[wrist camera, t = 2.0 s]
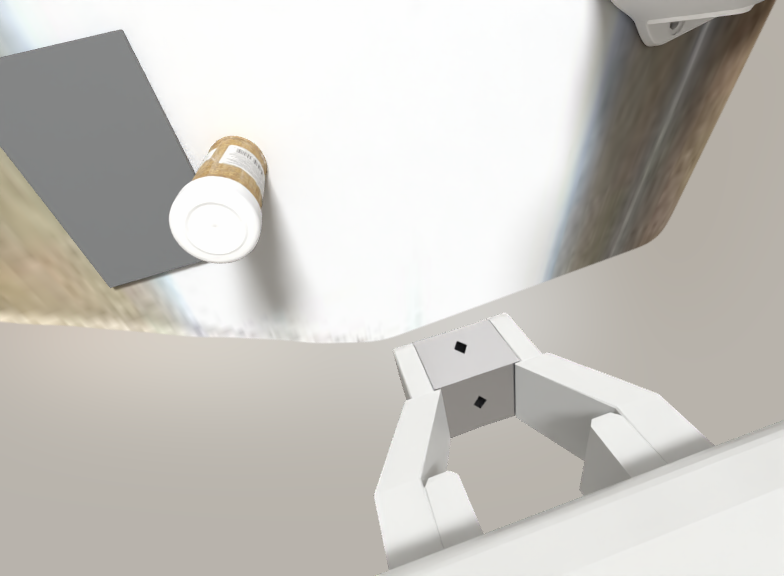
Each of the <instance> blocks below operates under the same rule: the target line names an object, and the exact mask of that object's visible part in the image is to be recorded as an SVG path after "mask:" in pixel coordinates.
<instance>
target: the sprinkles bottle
mask: <svg viewBox="0 0 784 576" xmlns="http://www.w3.org/2000/svg"><path fill="white" fill-rule="evenodd" d="M266 172H267V165H266V160H265V157H264V155H263V154H262V152H261V150H260V149H259V148H258V147H257V146H256V145H255V144H254V143H252V142H251V141H249V140H248V139H245V138H242V137H238V136H227V137H224V138H221V139H220V140H218V141H216V143H215V144H214V145H213V146H212V147H211V148H210V150H209V153H208V155H207V156H206V157H205V159H204V160H203V162H202V163H201V165H200V166H199V168H198V171H197V173H196V175H195V176H194V178H193V179H192V181H191V182H189V183H188V184H187V185H185V186H184V187H183V188H182V190H181V191H180V192H179V194H178V195H177V197H176V198H175V200H174V202H173V204H172V206H171V209H170V213H169V225H170V229H171V232H172V234H173V237H174V238H175V240H176V241H177V243H178V244H179V245H180V246H181V247H182V248H183V249H184V250H185V251H186V252H188V253H189V254H190V255H192V256H194V257H196V258H198V259H200V260H203V261H206V262H210V263H230V262H234V261H237V260H240V259H242V258H244V257H245V256H247V255H248V254H249V253H250V252H251V251H252V250H253V249H254V248H255V246H256V245H257V243H258V240H259V237H260V233H261V227H262V213H261V207H262V202H263V194H264V185H265V175H266Z"/></svg>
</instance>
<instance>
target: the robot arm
mask: <svg viewBox="0 0 784 576" xmlns="http://www.w3.org/2000/svg"><path fill="white" fill-rule="evenodd" d="M611 1H612V2H613V4H614V5H615V6H616V7H618V8H619V9H620V10H621V11H623V12H624V13H626V14H627V15H628V16H629V17H631V18H632V19H633V21H634V22H635V25H636V27H637V30H638V32H639V35H640V37H641V39H642V41H643V42H644V44H645V45H647V46H650V47H651V46H657V45H662V44H665V43H667V42H669V41H670V40H672V39H674V38H676V37H678V36H680V35H682V34H684V33H686V32H688V31H690V30H692V29H694V28H696V27H698V26H700V25H702V24H704V23H706V22H708V21H710V20H712V19H714V18H716V17H718V16H727V15H735V14H741V13H745V12H748V11H750V10H751V9H752V7H753V6H754V5H755V4H757V3H759V2H762V1H764V0H611ZM671 22H672V24H671V26H670V23H671ZM393 354H394V357H395V361H396V365H397V369H398V372H399V376H400V380H401V383H402V386H403V390H404V393H405V396H406V401H405V402H404V405H403V408H402V411H401V414H400V418H399V420H398V424H397V427H396V430H395V433H394V436H393V439H392V442H391V445H390V448H389V451H388V454H387V457H386V460H385V463H384V466H383V470H382V472H381V475H380V479H379V482H378V485H377V488H376V491H375V494H374V498H375V503H376V508H377V513H378V518H379V523H380V527H381V533H382V537H383V543H384V547H385V553H386V558H387V563H388V568H389V570H388V571H386V572H383V573H380V574H378V575H375V576H784V420H782V421H780V422H777V423H774V424H772V425H769V426H767V427H764V428H761V429H759V430H756V431H753V432H751V433H748V434H746V435H743V436H740V437H738V438H735V439H732V440H730V441H727V442H725V443H722V444H719V445H717V446H715V445H714V444H712V443H711V442H710V441H709V440H708V439H707V438H706V437H705V436H704V435H703V434H702V433H700V432H699V431H698V430H697V429H696V428H695V427H694V426H693V425H692V424H691V423H689V422H688V421H687V420H686V419H685V418H684V417H683V416H682V415H681V414H680V413H679V412H678V411H676V410H675V409H674V408H673V407H672V406H671V405H670V404H669V403H668V402H667V401H666V400H664V399H663V398H662V397H661V396H660V395H659V394H658V393H655V392H652V391H650V390H647V389H644V388H642V387H639V386H636V385H634V384H631V383H629V382H626V381H623V380H620V379H618V378H615V377H613V376H610V375H607V374H605V373H602V372H599V371H597V370H594V369H592V368H589V367H586V366H583V365H581V364H578V363H576V362H573V361H570V360H568V359H565V358H562V357H560V356H557V355H554V354H552V353H549V352H548V353H544V354H542V353H541V351H540V350H539V349H538V348H537V347H536V346H535V344H533V342H532V341H531V340H530V339H529V338H528V336H527V335H526V334H525V333H524V332H523V331H522V329H521V328H520V327H519V326H518V325H517V324H516V323H515V322H514V320H513V319H512V318H511V317H510V316H509V315H508V314H507V313H501V314H498V315H495V316H493V317H490V318H487V319H486V320H481V321H478V322H475V323H472V324H469V325H466V326H463V327H460V328H457V329H454V330H451V331H449V332H446V333H442V334H439V335H436V336H432V337H429V338H426V339H422V340H419V341H416V342H413V343H411V344H407V345H404V346H400V347H397V348H393ZM515 415H516V418H518V419H519V420H521V421H522V422H524V423H526V424H527V425H529V426H530V427H532V428H533V429H535V430H537V431H538V432H540V433H541V434H543V435H544V436H546V437H548V438H549V439H551V440H552V441H554V442H555V443H557V444H558V445H560V446H562V447H563V448H565V449H566V450H568V451H570V452H571V453H572V454H574V455H576V456H577V457H579V458H580V459H582V460H584V466H583V472H582V478H581V483H580V491H581V493H582V494H583V497H580V498H577V499H575V500H572V501H570V502H567V503H564V504H562V505H559V506H556V507H554V508H551V509H549V510H546V511H543V512H541V513H538V514H535V515H533V516H530V517H527V518H525V519H522V520H520V521H517V522H514V523H512V524H509V525H506V526H504V527H501V528H498V529H496V530H493V531H491V532H488V533H485V534H483V532H482V529H481V527H480V525H479V522H478V520H477V518H476V515H475V513H474V510H473V508H472V506H471V503H470V501H469V499H468V496H467V494H466V492H465V489H464V487H463V485H462V482H461V480H460V477H459V475H458V474H456V473H453V472H451V471H446V469H447V463H448V457H449V449H450V443H451V439H450V438H453V437H455V436H458V435H461V434H463V433H466V432H468V431H471V430H473V429H476V428H479V427H481V426H484V425H487V424H491V423H494V422H497V421H500V420H503V419H506V418H509V417H512V416H515Z"/></svg>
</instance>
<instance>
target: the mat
mask: <svg viewBox="0 0 784 576" xmlns="http://www.w3.org/2000/svg"><path fill="white" fill-rule="evenodd" d="M0 147H1V148H2V149H3V150H4V152H5V153H6V154H7V156H8V157H9V158H10V159H11V161H12V162H13V163H14V165H15V166H16V167H17V168H18V170H19V171H20V172H21V174H22V175H23V176H24V178H25V179H26V180H27V181H28V183H29V184H30V185H31V187H32V188H33V189H34V190H35V192H36V193H37V194H38V196H39V197H40V198H41V199H42V201H43V202H44V203H45V205H46V206H47V207H48V208H49V210H50V211H51V212H52V214H53V215H54V216H55V217H56V219H57V220H58V221H59V223H60V224H61V225H62V226H63V228H64V229H65V230H66V232H67V233H68V234H69V236H70V237H71V238H72V239H73V241H74V242H75V243H76V245H77V246H78V247H79V248H80V250H81V251H82V252H83V254H84V255H85V256H86V257H87V259H88V260H89V261H90V263H91V264H92V265H93V266H94V268H95V269H96V270H97V272H98V273H99V274H100V275H101V277H102V278H103V279H104V281H105V282H106V283H107V284H108V286H109V287H110V288H112V287H115V286H118V285H122V284H125V283H129V282H132V281H136V280H139V279H142V278H146V277H149V276H153V275H156V274H160V273H163V272H166V271H170V270H173V269H177V268H180V267H184V266H187V265H190V264H194V263H197V262H201V261H203V260H200V259H198V258H196V257H194V256H192V255H190V254H189V253H188V252H186V251H185V250H184V249H183V248H182V247H181V246H180V245H179V244H178V243H177V241H176V240H175V238H174V237H173V234H172V232H171V229H170V225H169V213H170V209H171V206H172V204H173V202H174V200H175V198H176V197H177V195H178V194H179V192H180V191H181V190H182V188H183V187H184V186H185V185H187V184H188V183H189V182H191V181H192V179H193V178H194V176H195V175H196V174H195V172H194V170H193V168H192V166H191V164H190V162H189V160H188V158H187V156H186V154H185V152H184V150H183V148H182V146H181V144H180V142H179V140H178V138H177V136H176V134H175V132H174V130H173V128H172V127H171V125H170V123H169V121H168V119H167V117H166V115H165V113H164V111H163V109H162V107H161V105H160V103H159V101H158V99H157V97H156V95H155V93H154V91H153V89H152V87H151V85H150V83H149V81H148V79H147V77H146V75H145V73H144V71H143V69H142V67H141V65H140V63H139V61H138V59H137V57H136V55H135V53H134V51H133V50H132V48H131V46H130V44H129V42H128V40H127V38H126V36H125V34H124V32H123V30H116V31H112V32H108V33H104V34H99V35H95V36H91V37H86V38H82V39H78V40H73V41H69V42H65V43H60V44H56V45H52V46H47V47H43V48H39V49H35V50H30V51H26V52H22V53H17V54H13V55H9V56H4V57H0Z"/></svg>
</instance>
